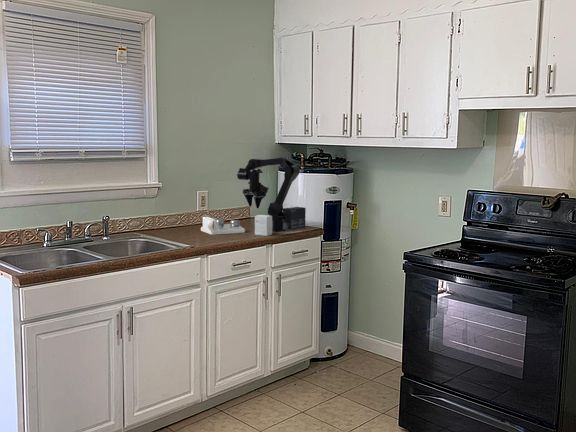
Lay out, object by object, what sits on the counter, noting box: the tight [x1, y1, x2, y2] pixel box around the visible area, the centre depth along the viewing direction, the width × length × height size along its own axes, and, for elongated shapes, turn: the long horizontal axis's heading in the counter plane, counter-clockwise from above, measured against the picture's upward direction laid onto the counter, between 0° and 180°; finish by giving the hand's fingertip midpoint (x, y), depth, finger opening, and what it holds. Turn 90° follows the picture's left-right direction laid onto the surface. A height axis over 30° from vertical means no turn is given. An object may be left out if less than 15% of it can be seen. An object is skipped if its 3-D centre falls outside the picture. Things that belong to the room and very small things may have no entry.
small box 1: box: [254, 214, 273, 237], centre depth 329 cm, size 8×6×10 cm
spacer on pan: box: [215, 218, 225, 226], centre depth 339 cm, size 5×5×3 cm
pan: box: [218, 223, 243, 230], centre depth 338 cm, size 12×12×1 cm
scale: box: [200, 216, 246, 235], centre depth 336 cm, size 15×22×8 cm
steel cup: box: [229, 219, 240, 227], centre depth 337 cm, size 5×5×3 cm
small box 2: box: [282, 206, 307, 230], centre depth 355 cm, size 13×7×12 cm, turn 136°
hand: (254, 207), depth 350 cm, fingers open, 9 cm apart
